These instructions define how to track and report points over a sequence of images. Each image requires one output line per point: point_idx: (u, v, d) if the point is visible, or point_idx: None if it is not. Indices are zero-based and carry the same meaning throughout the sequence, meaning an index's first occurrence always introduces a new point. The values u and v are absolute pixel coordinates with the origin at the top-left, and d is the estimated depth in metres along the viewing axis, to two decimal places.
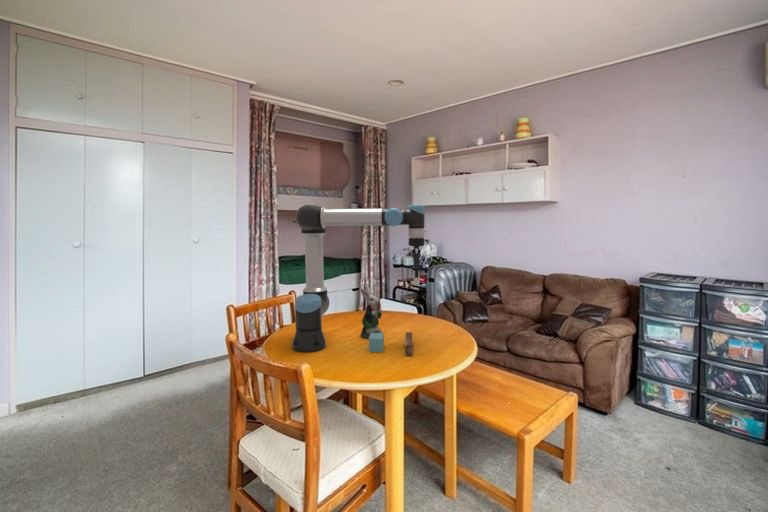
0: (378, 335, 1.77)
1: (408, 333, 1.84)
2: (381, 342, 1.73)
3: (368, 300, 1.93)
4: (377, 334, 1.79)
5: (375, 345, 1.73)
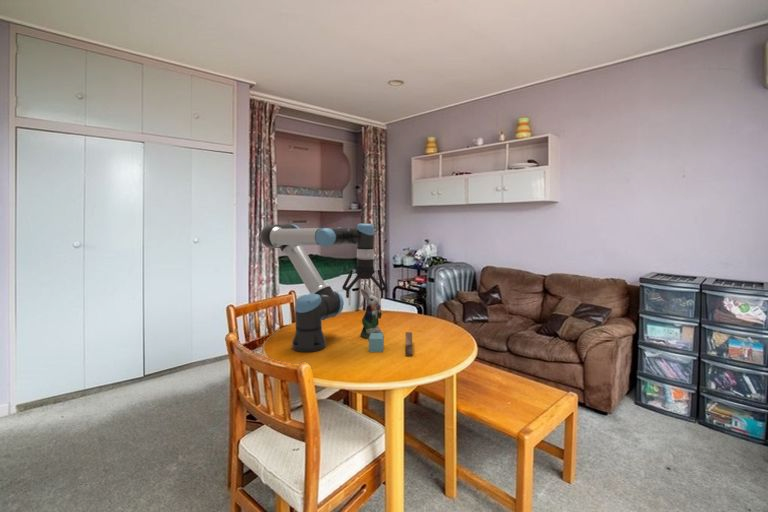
0: (378, 335, 1.77)
1: (408, 333, 1.84)
2: (381, 342, 1.73)
3: (368, 300, 1.93)
4: (377, 334, 1.79)
5: (375, 345, 1.73)
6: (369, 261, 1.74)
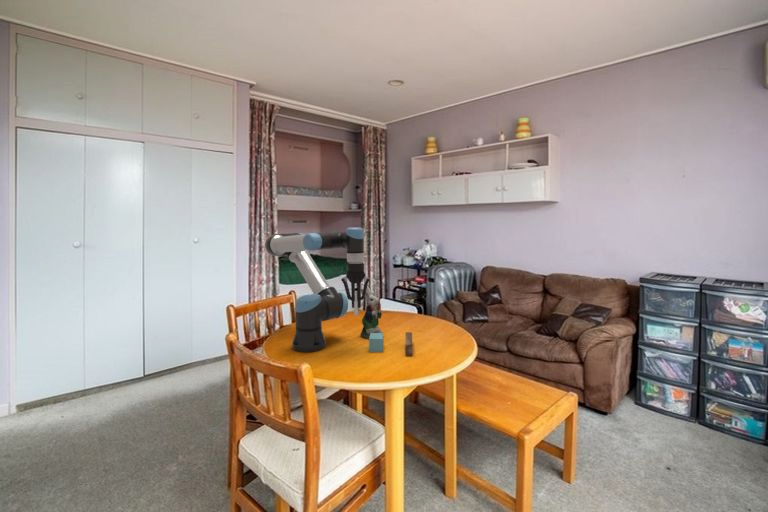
0: (378, 335, 1.77)
1: (408, 333, 1.84)
2: (381, 342, 1.73)
3: (368, 300, 1.93)
4: (377, 334, 1.79)
5: (375, 345, 1.73)
6: (358, 265, 1.71)
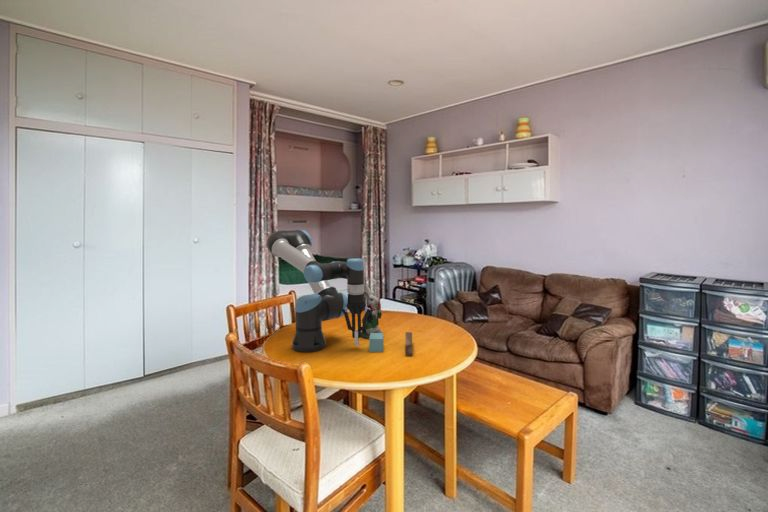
0: (378, 335, 1.78)
1: (408, 333, 1.84)
2: (381, 342, 1.73)
3: (368, 300, 1.93)
4: (377, 334, 1.79)
5: (375, 345, 1.73)
6: (358, 296, 1.73)
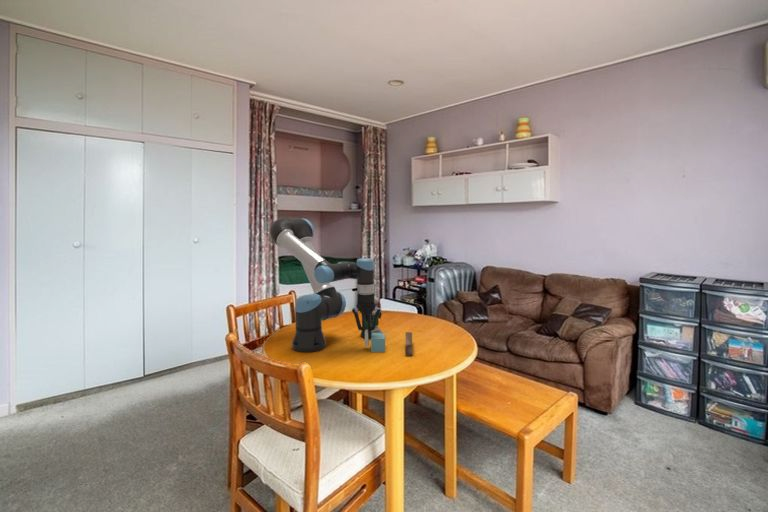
0: (379, 335, 1.77)
1: (408, 333, 1.84)
2: (383, 342, 1.73)
3: None
4: (379, 334, 1.79)
5: (377, 345, 1.73)
6: (368, 296, 1.72)
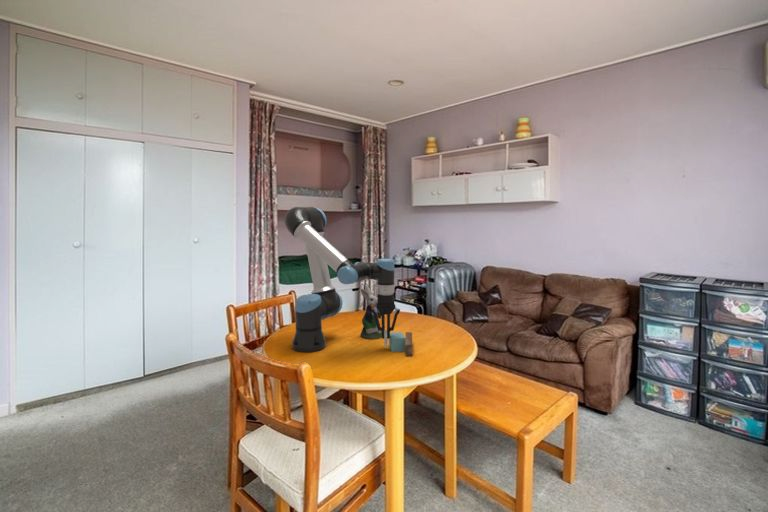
0: (398, 335, 1.78)
1: (408, 333, 1.84)
2: (404, 341, 1.74)
3: (368, 300, 1.93)
4: (397, 333, 1.80)
5: (398, 344, 1.73)
6: (389, 297, 1.72)
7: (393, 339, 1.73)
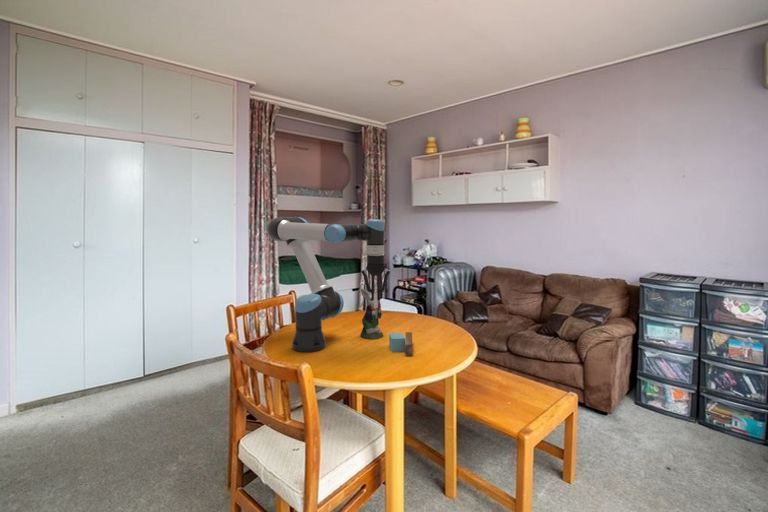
0: (398, 335, 1.78)
1: (408, 333, 1.84)
2: (404, 341, 1.74)
3: (368, 300, 1.93)
4: (397, 334, 1.80)
5: (397, 345, 1.73)
6: (378, 257, 1.70)
7: (393, 339, 1.73)
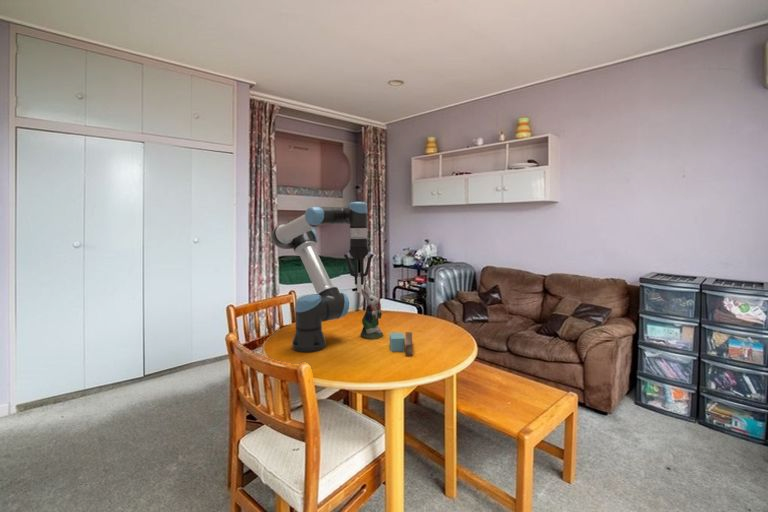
0: (398, 335, 1.78)
1: (408, 333, 1.84)
2: (403, 341, 1.73)
3: (368, 300, 1.93)
4: (397, 334, 1.80)
5: (397, 345, 1.73)
6: (361, 240, 1.67)
7: (392, 339, 1.73)
